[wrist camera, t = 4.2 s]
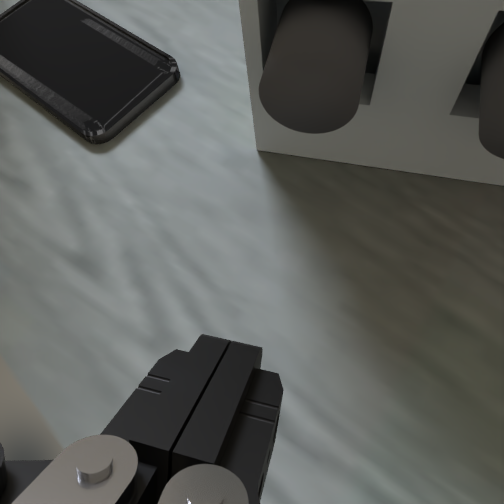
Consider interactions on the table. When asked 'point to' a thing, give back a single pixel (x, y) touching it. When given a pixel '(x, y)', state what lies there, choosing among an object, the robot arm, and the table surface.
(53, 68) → the phone
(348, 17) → the button
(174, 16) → the table surface
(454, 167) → the console
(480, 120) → the button
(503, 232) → the table surface
